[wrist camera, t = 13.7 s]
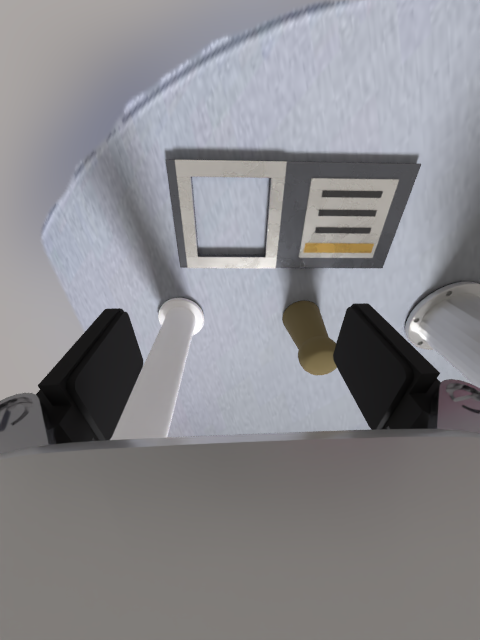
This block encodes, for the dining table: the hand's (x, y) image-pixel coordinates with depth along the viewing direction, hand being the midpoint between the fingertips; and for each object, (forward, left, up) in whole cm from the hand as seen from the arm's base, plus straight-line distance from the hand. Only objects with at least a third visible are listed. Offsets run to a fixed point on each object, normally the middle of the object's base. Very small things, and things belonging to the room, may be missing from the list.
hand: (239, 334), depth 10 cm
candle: (+8, +14, -23) cm, 28 cm away
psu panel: (-7, -1, -23) cm, 24 cm away
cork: (-11, +14, -23) cm, 29 cm away
